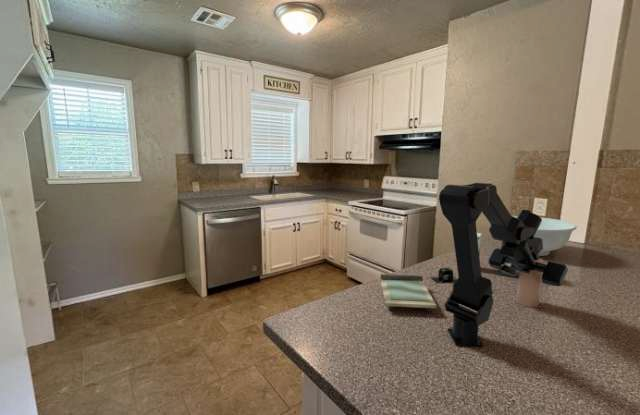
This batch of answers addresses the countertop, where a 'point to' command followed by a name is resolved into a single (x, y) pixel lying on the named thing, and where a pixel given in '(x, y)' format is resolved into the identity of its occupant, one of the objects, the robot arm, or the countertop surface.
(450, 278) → the dark piece
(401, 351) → the countertop surface
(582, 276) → the countertop surface
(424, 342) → the countertop surface
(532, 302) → the canister
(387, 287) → the mint green tray
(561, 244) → the bowl
